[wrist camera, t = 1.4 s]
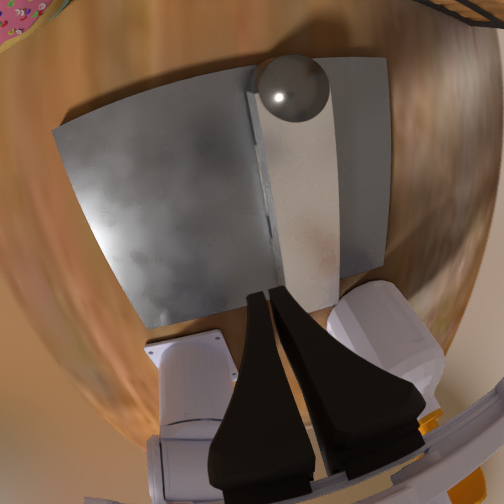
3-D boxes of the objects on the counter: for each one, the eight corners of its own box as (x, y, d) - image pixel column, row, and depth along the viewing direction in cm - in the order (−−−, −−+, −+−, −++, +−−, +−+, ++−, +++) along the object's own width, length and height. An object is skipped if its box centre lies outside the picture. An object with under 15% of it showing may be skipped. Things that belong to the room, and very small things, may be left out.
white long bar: (326, 282, 25) (340, 307, 22) (281, 295, 24) (291, 321, 22) (306, 54, 14) (328, 52, 12) (240, 62, 14) (250, 59, 11)
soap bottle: (375, 263, 27) (515, 487, 7) (407, 298, 31) (512, 468, 11) (308, 322, 30) (401, 548, 10) (351, 345, 34) (431, 517, 14)
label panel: (377, 258, 26) (384, 267, 25) (148, 319, 25) (147, 332, 24) (376, 57, 16) (388, 57, 15) (58, 126, 15) (49, 131, 14)
